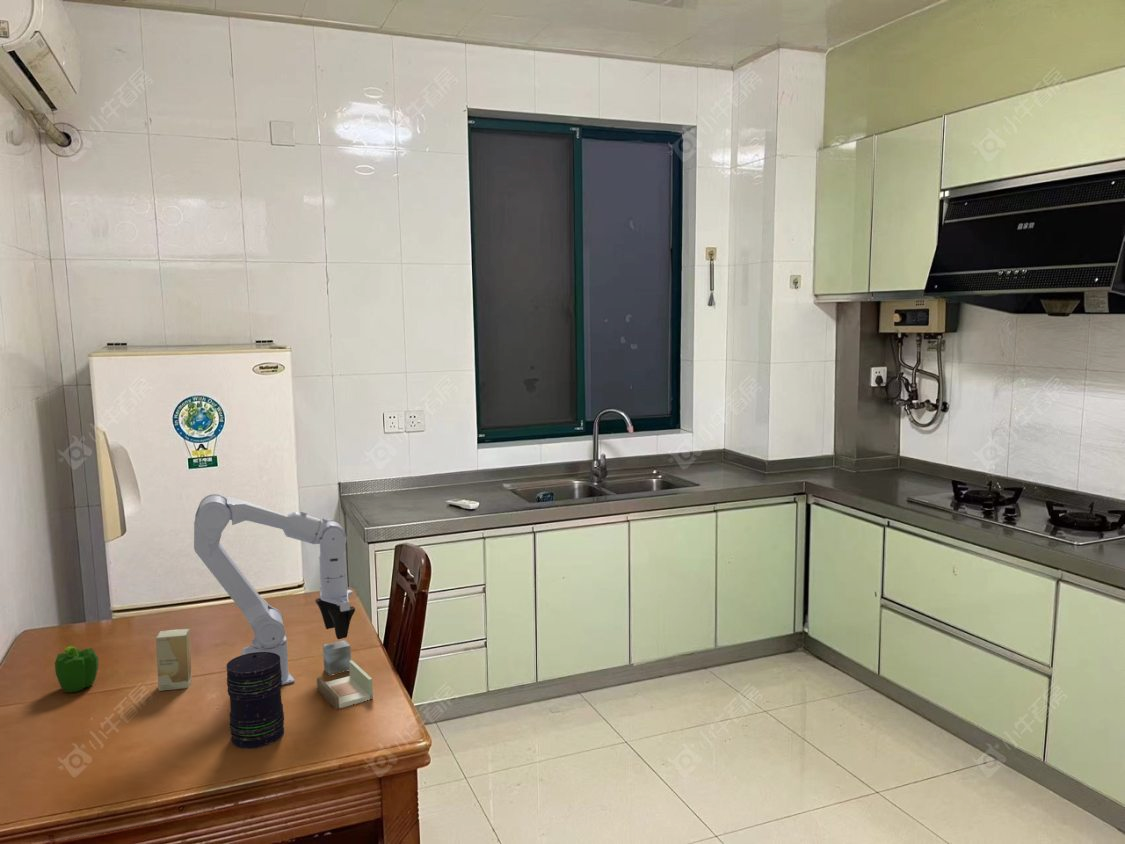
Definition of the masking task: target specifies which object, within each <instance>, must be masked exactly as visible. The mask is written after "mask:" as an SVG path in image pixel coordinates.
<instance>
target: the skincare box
mask: <svg viewBox="0 0 1125 844" xmlns="http://www.w3.org/2000/svg"><path fill="white" fill-rule="evenodd" d="M155 639H156V662H157V664H156V665H157V666H156V667H157V686H158V691H160V692H163V691H169V690H182V689H189V687H190V686H191V683H192V657H191V654H192V653H191V631H190V628H181V629H169V630H168V629H167V630H159V632H158V634H156V638H155Z"/></svg>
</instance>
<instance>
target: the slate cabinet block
mask: <svg viewBox="0 0 1125 844" xmlns="http://www.w3.org/2000/svg"><path fill="white" fill-rule="evenodd" d="M322 649H323V651H322V652H323V670H324V669H325V670H324V672H325V673H327V675H328V676H330V675H332V674H336V673H339V672H343V671H347V670H349V661H351V660H352V652H351V645H350V644H349V642H347V641H346V640H345V639H344V640H343V639H342V640H339V641H335V642H330V643H326V644H322ZM336 675H337V674H336ZM332 676H333V675H332Z"/></svg>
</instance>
